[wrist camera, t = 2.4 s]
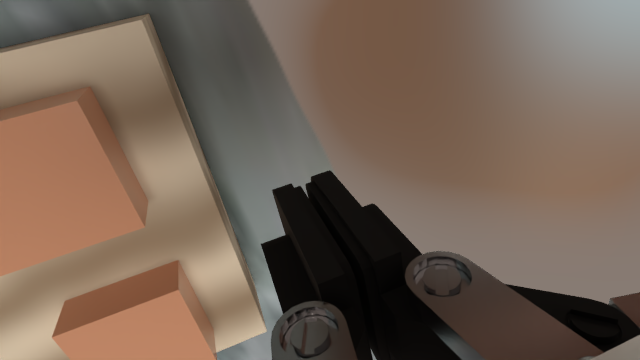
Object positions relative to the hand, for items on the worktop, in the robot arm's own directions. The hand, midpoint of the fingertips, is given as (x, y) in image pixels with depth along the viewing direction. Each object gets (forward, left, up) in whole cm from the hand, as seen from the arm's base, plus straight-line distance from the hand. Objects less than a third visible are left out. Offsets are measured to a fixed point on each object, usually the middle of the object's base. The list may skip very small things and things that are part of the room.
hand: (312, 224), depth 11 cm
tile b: (+9, -9, -10) cm, 17 cm away
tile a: (-1, -9, -10) cm, 14 cm away
